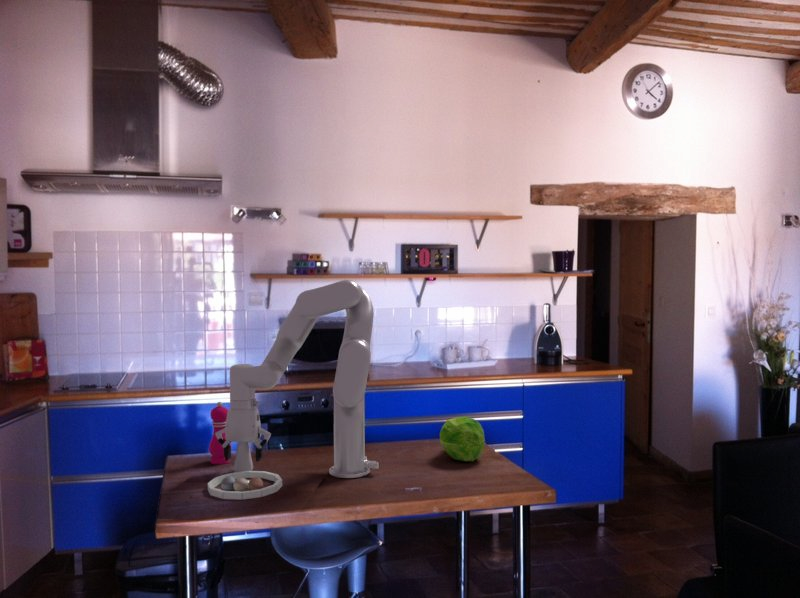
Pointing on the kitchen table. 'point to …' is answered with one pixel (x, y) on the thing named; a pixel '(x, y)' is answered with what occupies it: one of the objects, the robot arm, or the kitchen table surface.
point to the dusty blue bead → (228, 483)
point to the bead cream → (240, 484)
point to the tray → (245, 493)
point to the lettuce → (462, 438)
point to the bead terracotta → (255, 483)
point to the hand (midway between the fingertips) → (243, 459)
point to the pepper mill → (218, 424)
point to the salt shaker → (243, 458)
